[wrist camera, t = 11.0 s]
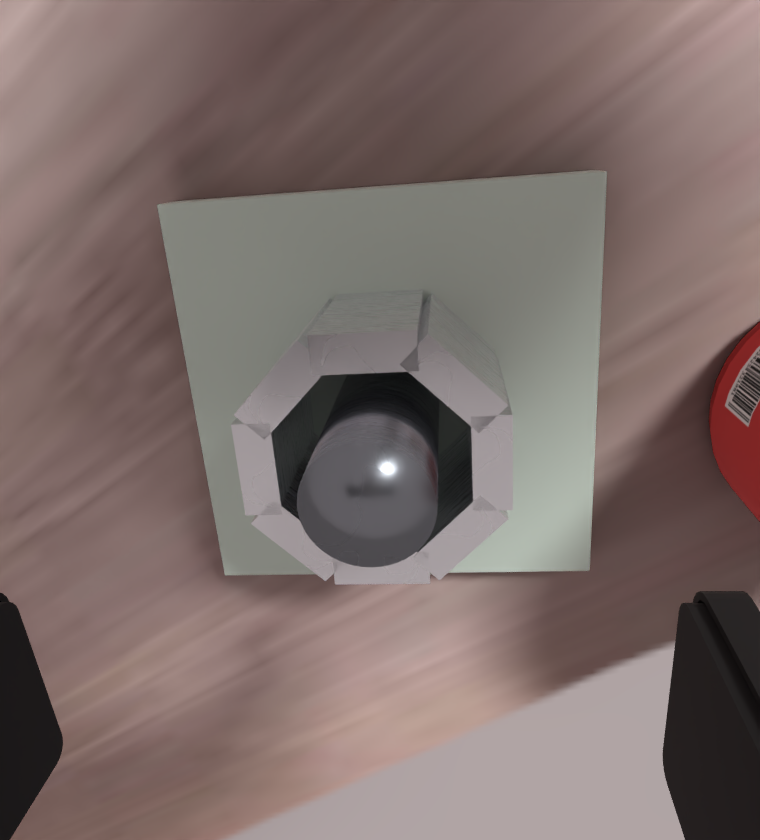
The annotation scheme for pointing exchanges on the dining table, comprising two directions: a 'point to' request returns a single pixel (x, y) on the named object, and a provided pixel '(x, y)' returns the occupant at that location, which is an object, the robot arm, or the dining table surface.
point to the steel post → (374, 472)
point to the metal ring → (382, 353)
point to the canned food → (739, 420)
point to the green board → (434, 273)
